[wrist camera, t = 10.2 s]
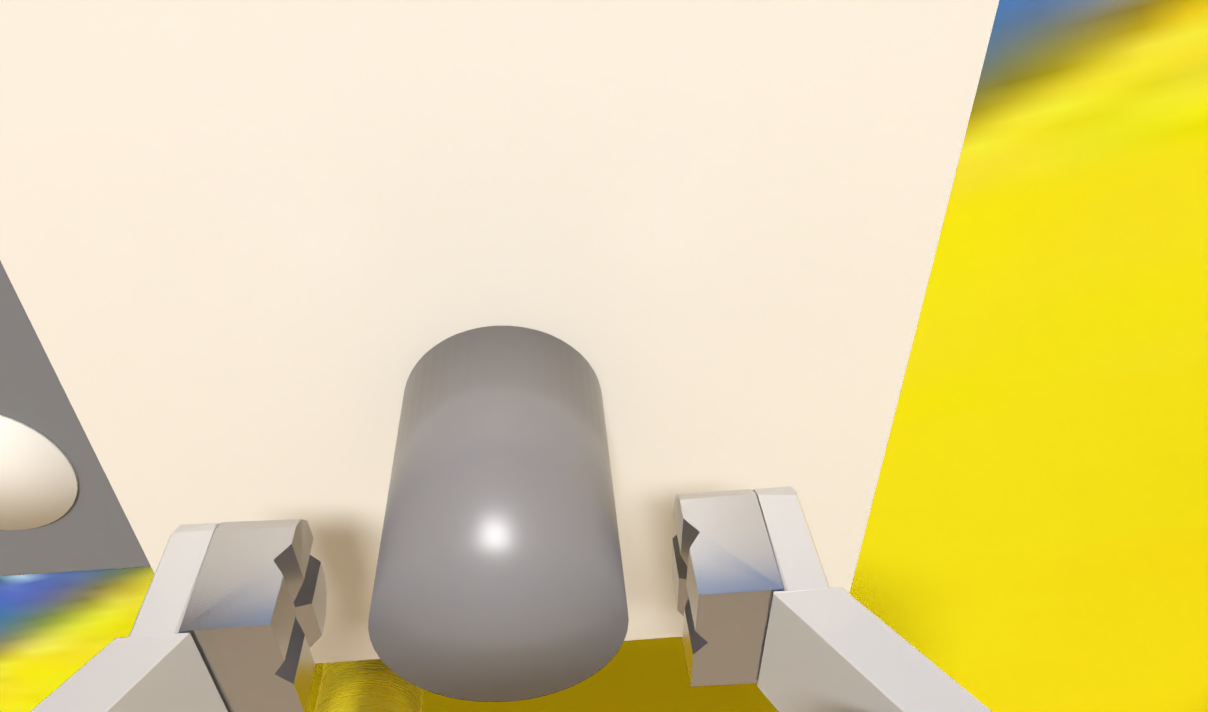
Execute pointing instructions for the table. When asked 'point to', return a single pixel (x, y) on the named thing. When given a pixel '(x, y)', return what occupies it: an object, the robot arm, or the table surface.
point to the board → (50, 467)
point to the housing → (482, 285)
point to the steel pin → (366, 689)
